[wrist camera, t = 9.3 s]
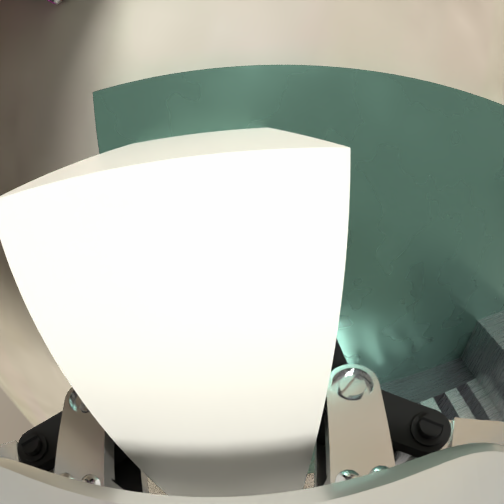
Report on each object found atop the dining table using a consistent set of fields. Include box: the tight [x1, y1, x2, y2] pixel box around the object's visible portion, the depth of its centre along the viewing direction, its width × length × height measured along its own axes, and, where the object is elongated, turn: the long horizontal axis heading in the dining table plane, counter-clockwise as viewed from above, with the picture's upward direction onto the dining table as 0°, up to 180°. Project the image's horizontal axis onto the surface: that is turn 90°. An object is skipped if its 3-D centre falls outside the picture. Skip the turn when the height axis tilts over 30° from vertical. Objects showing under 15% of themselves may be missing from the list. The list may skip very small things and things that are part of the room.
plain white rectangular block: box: [0, 127, 350, 497], centre depth 8 cm, size 12×4×6 cm, turn 4°
